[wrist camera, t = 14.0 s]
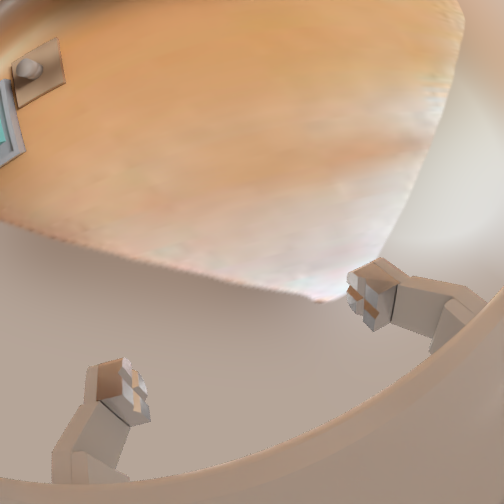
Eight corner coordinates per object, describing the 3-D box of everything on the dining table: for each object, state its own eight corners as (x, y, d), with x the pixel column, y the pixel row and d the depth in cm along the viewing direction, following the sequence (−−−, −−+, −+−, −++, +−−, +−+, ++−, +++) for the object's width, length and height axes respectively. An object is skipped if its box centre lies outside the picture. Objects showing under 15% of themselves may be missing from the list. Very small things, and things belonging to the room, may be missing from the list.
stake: (14, 64, 18) (-2, 59, 14) (58, 39, 20) (46, 29, 15) (21, 107, 22) (4, 107, 18) (66, 82, 23) (53, 78, 19)
